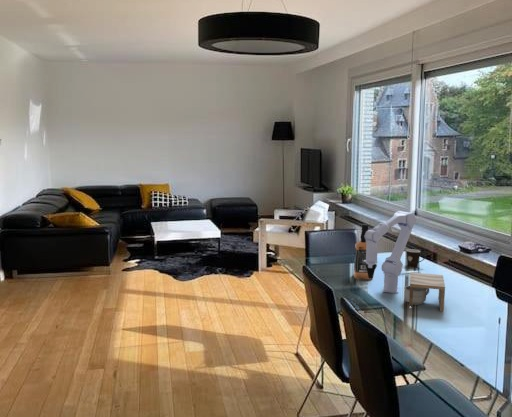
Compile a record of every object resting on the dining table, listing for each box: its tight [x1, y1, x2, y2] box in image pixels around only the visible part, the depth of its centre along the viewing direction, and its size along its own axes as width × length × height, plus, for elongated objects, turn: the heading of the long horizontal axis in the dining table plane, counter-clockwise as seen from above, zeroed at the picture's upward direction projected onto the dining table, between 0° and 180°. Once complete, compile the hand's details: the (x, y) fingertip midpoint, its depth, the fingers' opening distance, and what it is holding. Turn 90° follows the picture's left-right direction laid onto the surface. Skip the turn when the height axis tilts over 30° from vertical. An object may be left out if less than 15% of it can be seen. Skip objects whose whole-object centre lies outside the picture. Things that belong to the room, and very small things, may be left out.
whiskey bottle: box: [352, 223, 373, 281], centre depth 306 cm, size 10×10×32 cm
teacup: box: [404, 285, 430, 306], centre depth 262 cm, size 14×11×8 cm
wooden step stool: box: [408, 272, 446, 313], centre depth 261 cm, size 22×16×12 cm
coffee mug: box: [406, 248, 425, 268], centre depth 334 cm, size 12×9×10 cm
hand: (370, 278), depth 272 cm, fingers closed
